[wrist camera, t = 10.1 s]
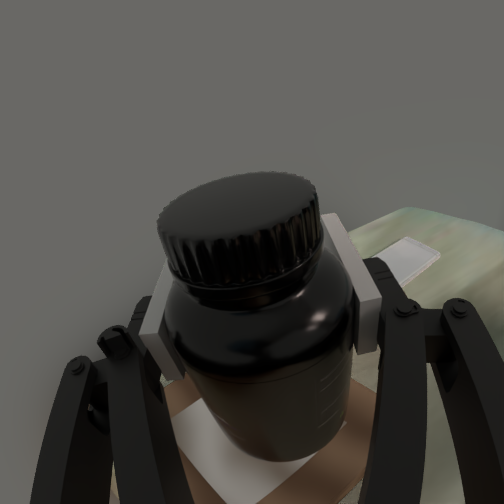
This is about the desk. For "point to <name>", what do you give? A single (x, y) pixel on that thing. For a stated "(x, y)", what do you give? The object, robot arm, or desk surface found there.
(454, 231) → the desk surface
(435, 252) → the hard drive
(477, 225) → the desk surface
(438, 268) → the desk surface
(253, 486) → the plinth
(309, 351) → the supplement bottle
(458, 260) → the desk surface
